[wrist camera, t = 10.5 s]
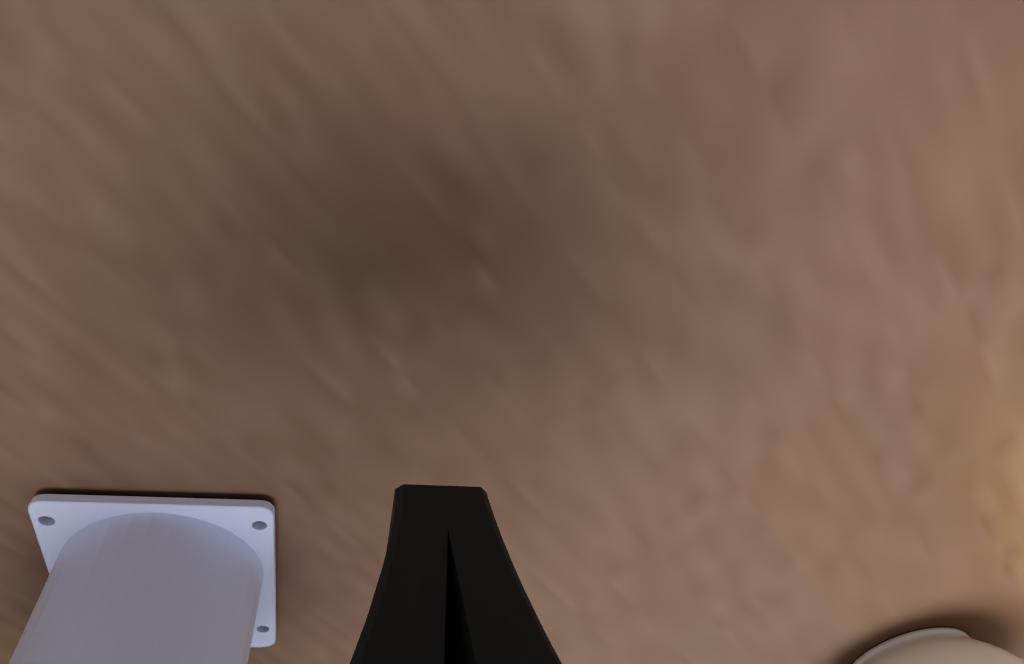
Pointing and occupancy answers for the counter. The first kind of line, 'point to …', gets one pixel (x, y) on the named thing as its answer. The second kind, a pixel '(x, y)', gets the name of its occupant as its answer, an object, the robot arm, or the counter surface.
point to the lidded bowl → (937, 649)
